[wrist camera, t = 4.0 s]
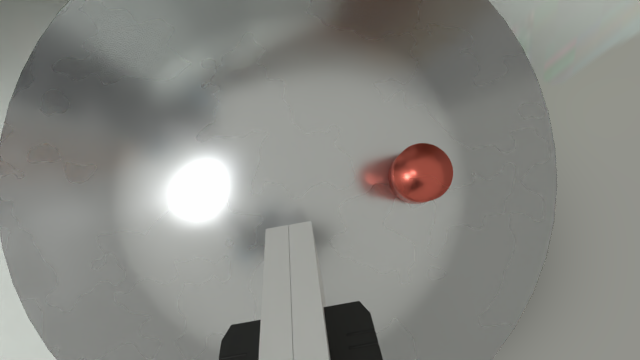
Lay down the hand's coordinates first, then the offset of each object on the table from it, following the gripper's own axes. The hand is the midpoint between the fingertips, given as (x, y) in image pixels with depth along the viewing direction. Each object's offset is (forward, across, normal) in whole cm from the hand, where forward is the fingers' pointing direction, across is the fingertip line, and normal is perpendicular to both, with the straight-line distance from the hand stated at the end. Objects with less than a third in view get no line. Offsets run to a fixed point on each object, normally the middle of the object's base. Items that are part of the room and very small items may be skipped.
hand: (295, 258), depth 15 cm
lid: (+2, 0, -1) cm, 2 cm away
